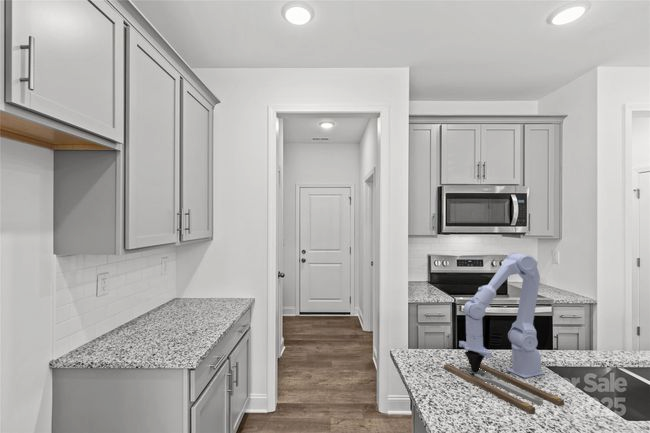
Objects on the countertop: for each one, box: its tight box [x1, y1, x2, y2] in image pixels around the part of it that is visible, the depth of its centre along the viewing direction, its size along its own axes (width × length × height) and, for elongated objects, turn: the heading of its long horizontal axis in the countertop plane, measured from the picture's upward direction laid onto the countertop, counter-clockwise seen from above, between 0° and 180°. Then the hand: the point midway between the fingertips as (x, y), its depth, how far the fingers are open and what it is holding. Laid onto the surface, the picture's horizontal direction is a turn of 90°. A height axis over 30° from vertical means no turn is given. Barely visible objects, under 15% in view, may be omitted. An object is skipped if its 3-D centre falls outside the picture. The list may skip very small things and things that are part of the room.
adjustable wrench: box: [473, 370, 544, 405], centre depth 124 cm, size 25×6×2 cm, turn 21°
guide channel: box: [443, 361, 565, 415], centre depth 128 cm, size 14×38×2 cm, turn 21°
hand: (475, 371), depth 137 cm, fingers closed
